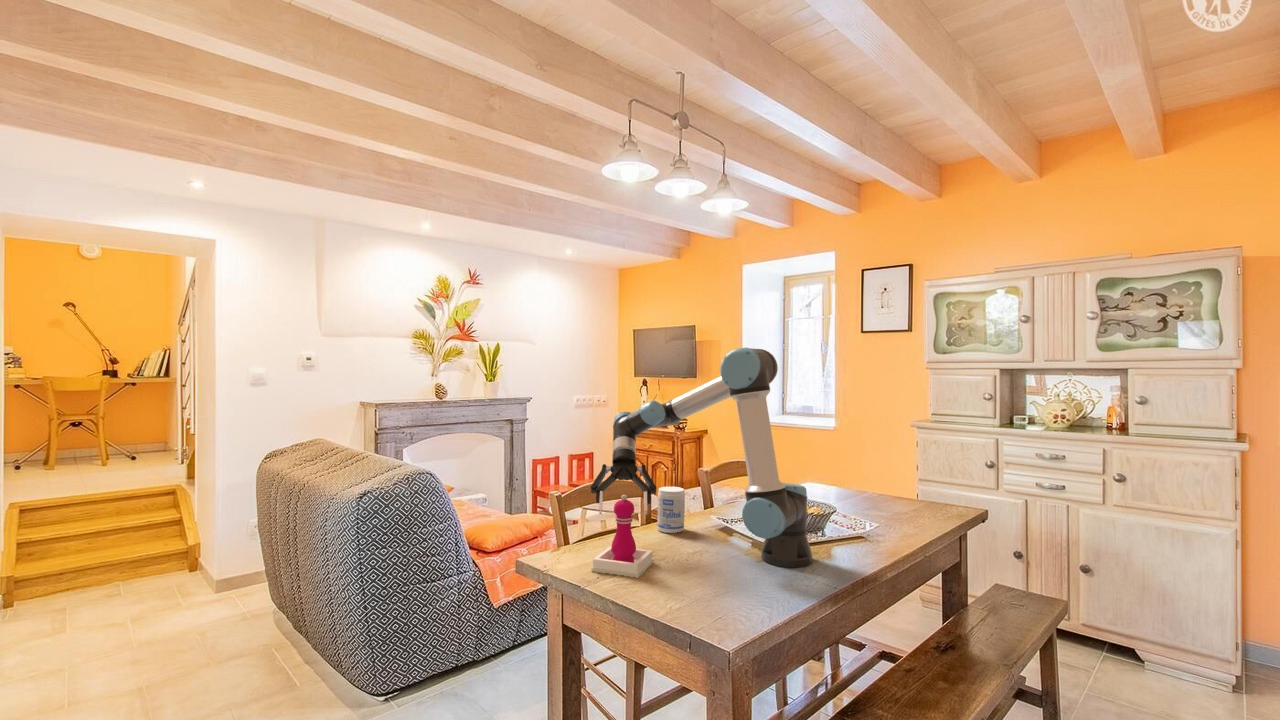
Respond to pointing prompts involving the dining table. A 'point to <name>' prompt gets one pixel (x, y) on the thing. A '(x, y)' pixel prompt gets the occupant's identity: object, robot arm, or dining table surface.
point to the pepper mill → (623, 531)
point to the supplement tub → (671, 509)
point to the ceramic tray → (623, 563)
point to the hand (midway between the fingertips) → (623, 512)
